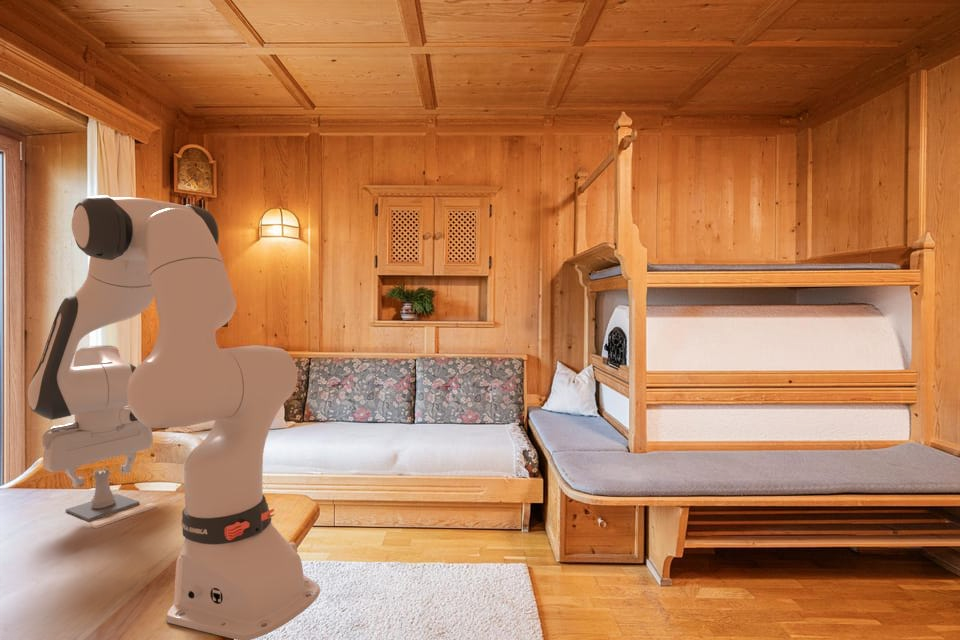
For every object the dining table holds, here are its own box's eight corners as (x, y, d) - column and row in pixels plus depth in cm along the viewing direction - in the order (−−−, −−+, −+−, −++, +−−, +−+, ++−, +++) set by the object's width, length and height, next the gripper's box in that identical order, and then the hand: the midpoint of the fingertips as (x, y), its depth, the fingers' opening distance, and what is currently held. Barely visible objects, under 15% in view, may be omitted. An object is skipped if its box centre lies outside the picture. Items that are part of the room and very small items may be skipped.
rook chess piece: (102, 510, 110) (100, 474, 110) (85, 508, 111) (83, 473, 111) (120, 502, 115) (119, 467, 114) (104, 500, 116) (102, 466, 115)
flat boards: (156, 506, 114) (156, 504, 114) (95, 528, 103) (95, 525, 103) (120, 494, 121) (120, 492, 121) (60, 513, 110) (60, 511, 110)
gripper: (49, 430, 101) (52, 498, 102) (155, 410, 119) (157, 467, 120) (35, 427, 105) (38, 492, 105) (140, 407, 122) (143, 464, 123)
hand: (102, 479), depth 113 cm, fingers open, 8 cm apart
